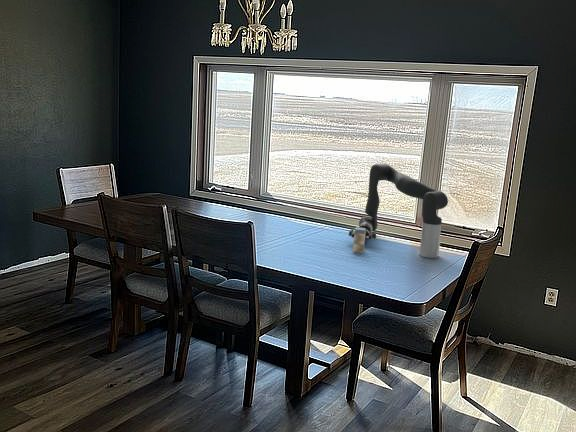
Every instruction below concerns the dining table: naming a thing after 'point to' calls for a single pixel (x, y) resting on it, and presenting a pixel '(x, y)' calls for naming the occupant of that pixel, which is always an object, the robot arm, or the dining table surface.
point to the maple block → (359, 240)
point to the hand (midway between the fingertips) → (361, 236)
